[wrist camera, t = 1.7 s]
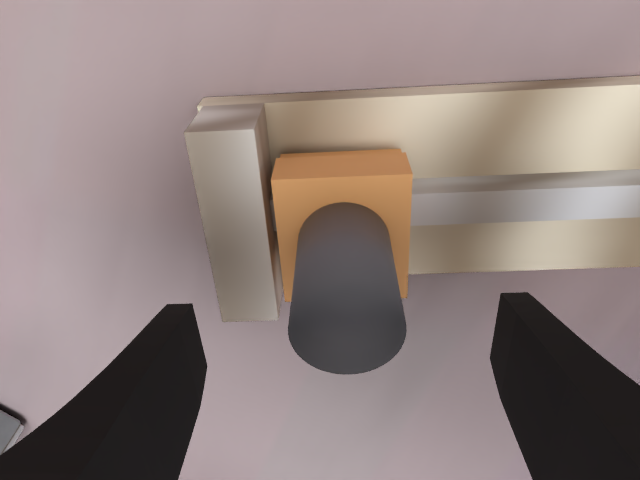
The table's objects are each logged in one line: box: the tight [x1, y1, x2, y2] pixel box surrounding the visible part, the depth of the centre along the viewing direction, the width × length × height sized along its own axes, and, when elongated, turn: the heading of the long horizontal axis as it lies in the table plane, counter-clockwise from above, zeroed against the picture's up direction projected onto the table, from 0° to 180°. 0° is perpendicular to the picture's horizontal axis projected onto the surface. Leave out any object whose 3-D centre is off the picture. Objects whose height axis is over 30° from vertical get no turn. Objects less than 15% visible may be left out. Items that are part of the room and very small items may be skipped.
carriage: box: [271, 149, 413, 374], centre depth 15 cm, size 4×4×7 cm
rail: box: [184, 76, 640, 322], centre depth 17 cm, size 20×7×4 cm, turn 93°
